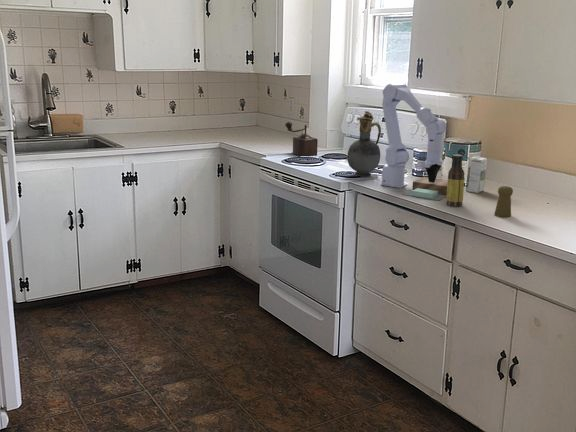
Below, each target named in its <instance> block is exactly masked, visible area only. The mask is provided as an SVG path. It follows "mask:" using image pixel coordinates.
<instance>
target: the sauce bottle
mask: <svg viewBox="0 0 576 432" xmlns="http://www.w3.org/2000/svg"><path fill="white" fill-rule="evenodd" d="M463 157H464V156H463V154H459V153H457V154H456V153H455V154H452V155H451V159H452V160H451V167H450V169H449V170H448V174H447V180H448V185H447V196H446V204H447V206H449V207H452V208H453V207H454V208H455V207H456V208H458V207H462V205H463V202H464V201H463V200H464V189H465V171H464V169H463V160H464V159H463Z"/></svg>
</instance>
